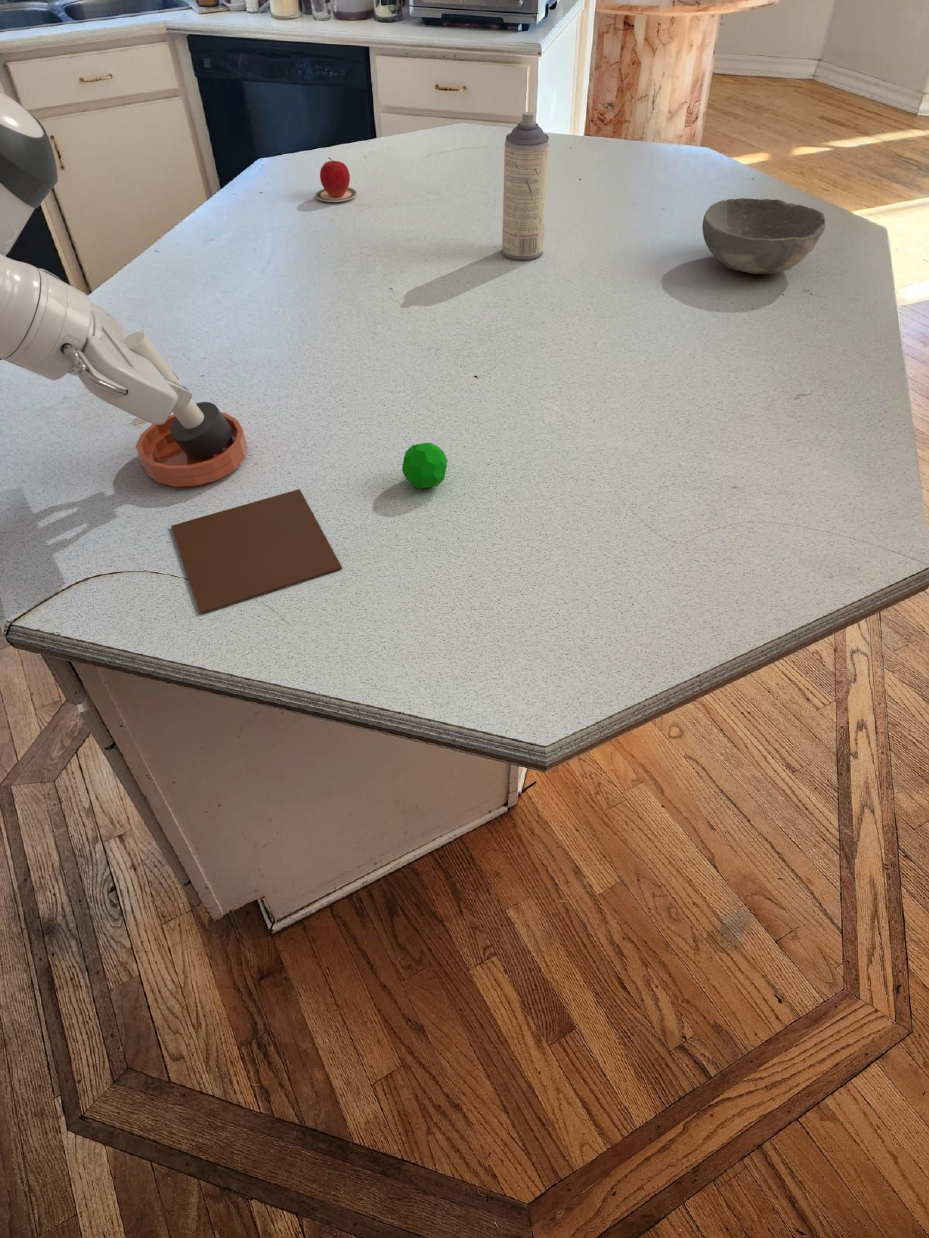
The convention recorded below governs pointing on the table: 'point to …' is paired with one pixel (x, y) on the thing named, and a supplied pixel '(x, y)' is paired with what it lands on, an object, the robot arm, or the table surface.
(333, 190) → the apple
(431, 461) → the polyhedron
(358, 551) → the table surface
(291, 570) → the board
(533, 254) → the aerosol can
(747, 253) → the bowl
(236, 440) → the dish
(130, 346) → the brush
